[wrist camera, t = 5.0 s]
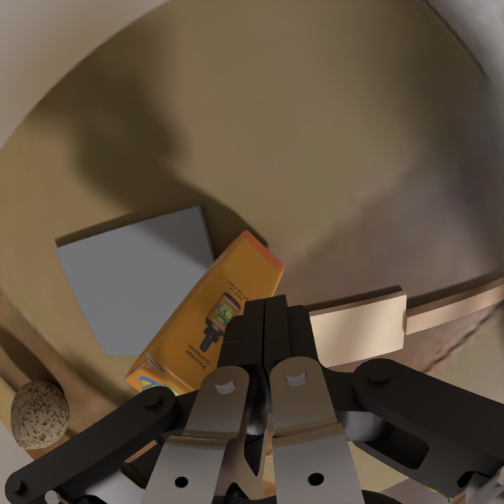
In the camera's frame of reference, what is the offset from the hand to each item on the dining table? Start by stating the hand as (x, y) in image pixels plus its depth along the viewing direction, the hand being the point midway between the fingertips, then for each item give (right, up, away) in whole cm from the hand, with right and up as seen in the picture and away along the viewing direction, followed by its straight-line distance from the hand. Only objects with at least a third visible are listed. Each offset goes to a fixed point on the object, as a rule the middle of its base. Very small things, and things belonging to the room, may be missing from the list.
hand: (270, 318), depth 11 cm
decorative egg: (-24, -14, +15) cm, 32 cm away
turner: (+12, -2, +8) cm, 15 cm away
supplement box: (-1, +2, +7) cm, 7 cm away
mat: (-8, 0, +8) cm, 12 cm away
